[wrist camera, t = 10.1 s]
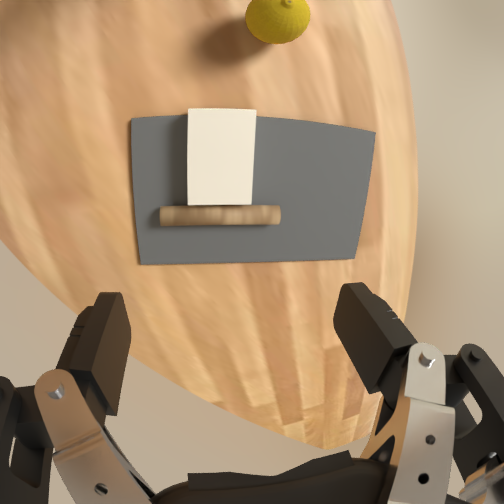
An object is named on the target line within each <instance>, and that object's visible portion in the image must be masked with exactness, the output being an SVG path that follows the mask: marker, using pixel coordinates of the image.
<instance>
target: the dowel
mask: <svg viewBox="0 0 504 504" xmlns="http://www.w3.org/2000/svg"><path fill="white" fill-rule="evenodd" d="M280 220H281V210H280V206H279V205H189V206H161V207H160V225H161V226H186V225H279V223H280Z"/></svg>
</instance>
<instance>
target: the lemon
mask: <svg viewBox="0 0 504 504" xmlns="http://www.w3.org/2000/svg"><path fill="white" fill-rule="evenodd" d="M245 21H246V24H247V27H248V29H249V31H250V32H251V33H252V34H253V35H254V36H255V37H256V38H258V39H259V40H261V41H263V42H266V43H270V44H284V43H287V42H290V41H293V40H294V39H296V38H298V37H299V36H300V35H301V34H302V33H303V32H304V31H305V30H306V28H307V26H308V23H309V21H310V10H309V6H308V4H307V3H306V1H305V0H252V1H251V2H250V4H249V5H248V7H247V10H246V14H245Z"/></svg>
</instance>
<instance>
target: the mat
mask: <svg viewBox="0 0 504 504" xmlns="http://www.w3.org/2000/svg"><path fill="white" fill-rule="evenodd" d="M375 134H376V132H371V131H366V130H361V129H356V128H350V127H344V126H338V125H332V124H326V123H318V122H311V121H303V120H294V119H284V118H272V117H258V116H256V128H255V147H254V165H253V184H252V203H251V205H279V206H280V210H281V220H280V223H279V225H186V226H161V225H160V207H161V206H189V205H188V185H187V145H188V115H175V116H156V117H142V118H131V148H132V177H133V193H134V207H135V218H136V228H137V237H138V246H139V254H140V261H141V265H143V264H194V263H236V262H272V261H304V260H334V259H355V254H356V250H357V245H358V241H359V236H360V231H361V226H362V221H363V216H364V210H365V205H366V199H367V193H368V187H369V181H370V174H371V167H372V160H373V152H374V143H375Z"/></svg>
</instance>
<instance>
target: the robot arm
mask: <svg viewBox="0 0 504 504" xmlns="http://www.w3.org/2000/svg"><path fill="white" fill-rule="evenodd" d="M333 323H334V329H335V331H336V333H337V335H338V337H339V339H340V340H341V342H342V344H343V346H344V348H345V350H346V351H347V353H348V355H349V357H350V359H351V361H352V363H353V364H354V366H355V368H356V370H357V372H358V374H359V376H360V378H361V380H362V382H363V383H364V385H365V387H366V389H367V391H368V393H369V394H372V393H376V392H379V391H381V393H382V394H383V396H382V397H381V399H380V402H379V406H378V410H377V414H376V417H375V421H374V425H373V428H372V432H371V435H370V439H369V441H368V443H367V445H366V447H365V449H364V450H363V452H362V454H361V456H360V458H351V455H350V453H349V451H348V450H347V451H343V452H340V453H336V454H333V455H329V456H325V457H321V458H317V459H312V460H310V461H308V462H306V463H304V464H302V465H300V466H298V467H295V468H293V469H291V470H289V471H286V472H284V473H282V474H279V475H276V476H261V475H250V474H242V473H234V472H219V473H188V481H186V482H182V483H179V484H176V485H173V486H170V487H168V488H166V489H164V490H163V491H161V492H159V493H157V494H156V493H155V492H154V491H153V490H152V488H151V487H150V486H149V485H148V484H147V483H146V482H145V480H144V479H143V478H142V477H141V476H140V474H139V473H138V472H137V471H136V470H135V468H134V467H133V466H132V465H131V463H130V462H129V461H128V459H127V458H126V456H125V455H124V453H123V452H122V451H121V449H120V448H119V446H118V445H117V443H116V442H115V440H114V439H113V437H112V436H111V434H110V433H109V431H108V430H107V428H106V426H105V425H104V424H105V418H106V415H111V416H117V411H118V405H119V399H120V393H121V387H122V382H123V377H124V371H125V367H126V362H127V357H128V352H129V348H130V343H131V327H130V323H129V319H128V316H127V312H126V308H125V304H124V300H123V296H122V294H121V293H120V292H101V293H99V295H98V297H97V299H96V302H95V304H94V306H87V307H86V308H85V309H84V310H83V311H82V312H81V313H80V314H79V315H78V317H77V320H76V322H75V324H74V328H72V331H71V333H70V337H68V339H67V342H66V344H65V347H64V349H63V352H62V354H61V356H60V359H59V361H58V364H57V366H56V369H54V370H50V371H47V372H46V373H44V374H43V375H42V376H41V377H40V378H39V379H38V380H37V382H36V384H35V385H33V386H26V387H18V388H15V387H14V386H13V384H12V383H11V382H10V380H9V379H8V378H6V377H2V376H0V504H48V497H49V482H50V470H51V462H52V457H53V461H54V463H55V466H56V468H57V470H58V472H59V474H60V476H61V478H62V480H63V482H64V484H65V485H66V487H67V489H68V491H69V492H70V495H71V496H72V498H73V500H74V501H75V503H76V504H504V377H503V375H502V374H501V372H500V371H499V370H498V368H497V367H496V366H495V364H494V363H493V362H492V360H491V359H490V358H489V356H488V355H487V354H486V352H485V351H484V350H483V349H482V348H480V347H479V346H477V345H474V344H465V345H463V346H462V348H461V349H460V351H459V353H458V354H457V355H443V354H442V353H441V351H440V350H439V349H437V348H436V347H435V346H433V345H431V344H428V343H418V342H417V341H416V339H415V338H414V337H413V335H412V334H411V333H410V331H409V330H408V329H407V328H406V326H405V325H404V324H403V323H402V321H401V320H400V319H398V316H397V315H396V314H395V313H394V311H393V312H392V309H391V308H390V306H389V305H388V304H387V303H386V301H384V300H383V299H381V298H380V297H378V296H377V295H376V294H372V292H371V291H370V290H369V289H368V287H367V286H366V285H365V284H364V283H362V282H359V283H347V284H343V286H342V287H341V290H340V294H339V298H338V302H337V306H336V309H335V313H334V318H333ZM469 391H470V392H471V394H472V395H473V397H474V398H475V400H476V402H477V403H478V405H479V407H480V408H481V410H482V420H481V422H480V423H479V424H478V425H477V424H476V422H475V420H474V418H473V417H472V415H471V413H470V412H469V410H468V408H467V406H466V405H465V403H464V401H463V399H464V397H465V396H466V395H467V394H468V393H469ZM13 437H15V438H16V439H15V444H14V449H13V454H12V460H11V466H10V467H9V456H10V451H11V446H12V441H13ZM53 448H55V451H56V452H55V453H53ZM452 456H453V458H454V460H455V462H456V464H457V467H458V469H459V471H460V473H461V476H462V478H463V480H464V483H465V487H464V488H463V489H461V491H460V492H459V498H460V499H459V498H456V497H453V496H451V495H448V494H447V489H448V484H449V478H450V471H451V464H452Z"/></svg>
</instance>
